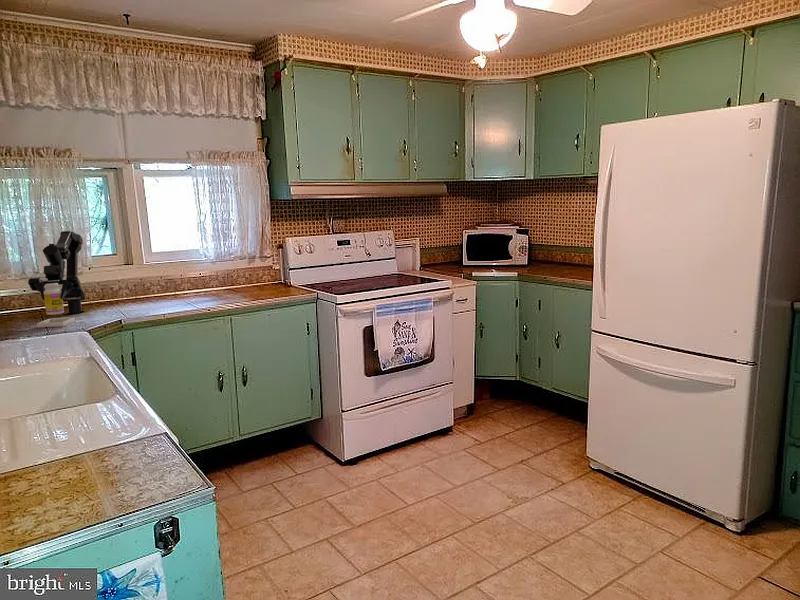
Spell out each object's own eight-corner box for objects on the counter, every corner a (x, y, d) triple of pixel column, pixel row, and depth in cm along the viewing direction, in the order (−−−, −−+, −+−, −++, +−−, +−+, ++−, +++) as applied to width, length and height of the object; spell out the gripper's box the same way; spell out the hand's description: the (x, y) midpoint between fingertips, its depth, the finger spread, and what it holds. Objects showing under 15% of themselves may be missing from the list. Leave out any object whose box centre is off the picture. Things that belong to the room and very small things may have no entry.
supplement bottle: (51, 315, 240) (47, 285, 238) (43, 314, 243) (38, 284, 241) (67, 312, 246) (63, 283, 243) (58, 311, 249) (55, 282, 247)
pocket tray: (51, 322, 251) (50, 318, 250) (76, 321, 252) (76, 317, 251) (37, 328, 239) (36, 323, 239) (63, 326, 240) (63, 322, 240)
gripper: (26, 259, 242) (20, 288, 233) (75, 257, 247) (71, 285, 238) (34, 275, 250) (29, 304, 242) (82, 273, 256) (78, 301, 247)
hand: (52, 298), depth 242 cm, fingers closed on supplement bottle, 7 cm apart
